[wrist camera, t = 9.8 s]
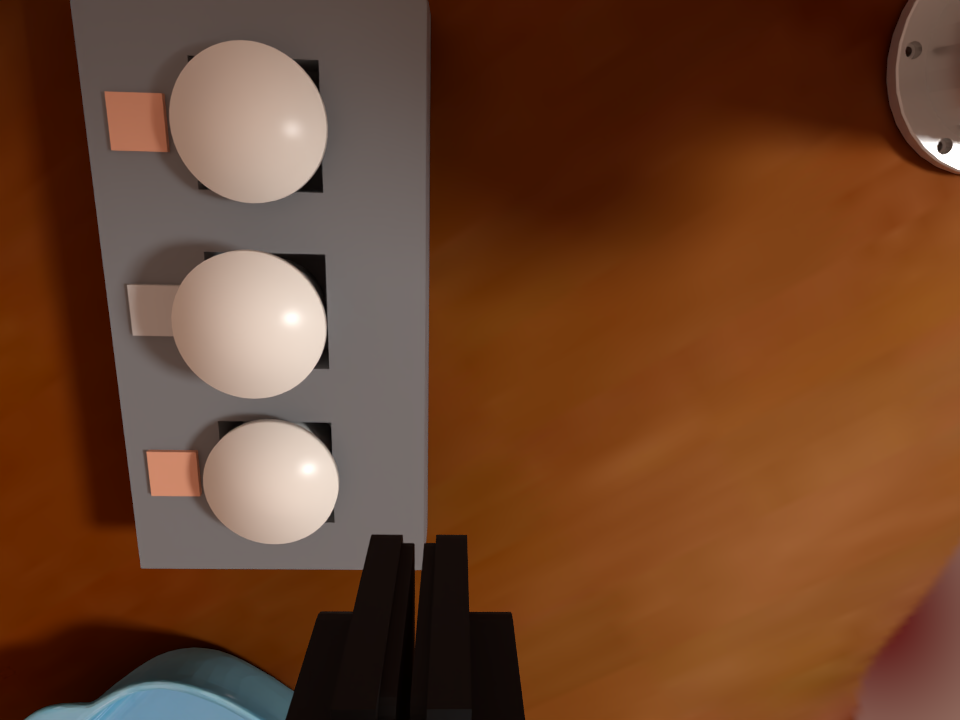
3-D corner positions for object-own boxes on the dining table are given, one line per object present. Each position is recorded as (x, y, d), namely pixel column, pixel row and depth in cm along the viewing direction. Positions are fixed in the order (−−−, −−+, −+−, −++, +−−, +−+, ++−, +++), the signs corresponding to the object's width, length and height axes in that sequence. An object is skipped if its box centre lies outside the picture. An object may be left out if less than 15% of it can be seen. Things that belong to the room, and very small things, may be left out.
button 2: (351, 390, 40) (335, 424, 35) (354, 497, 42) (339, 544, 37) (231, 388, 40) (197, 422, 34) (239, 496, 42) (208, 543, 36)
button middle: (341, 240, 36) (322, 252, 30) (345, 367, 38) (327, 399, 32) (206, 237, 35) (163, 249, 30) (217, 365, 37) (178, 397, 32)
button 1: (342, 61, 35) (322, 43, 30) (346, 200, 37) (328, 205, 32) (205, 56, 35) (161, 37, 30) (216, 196, 37) (176, 201, 31)
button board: (430, 16, 36) (426, -10, 30) (427, 525, 44) (423, 572, 39) (120, 4, 35) (63, -24, 30) (176, 523, 43) (138, 571, 38)
